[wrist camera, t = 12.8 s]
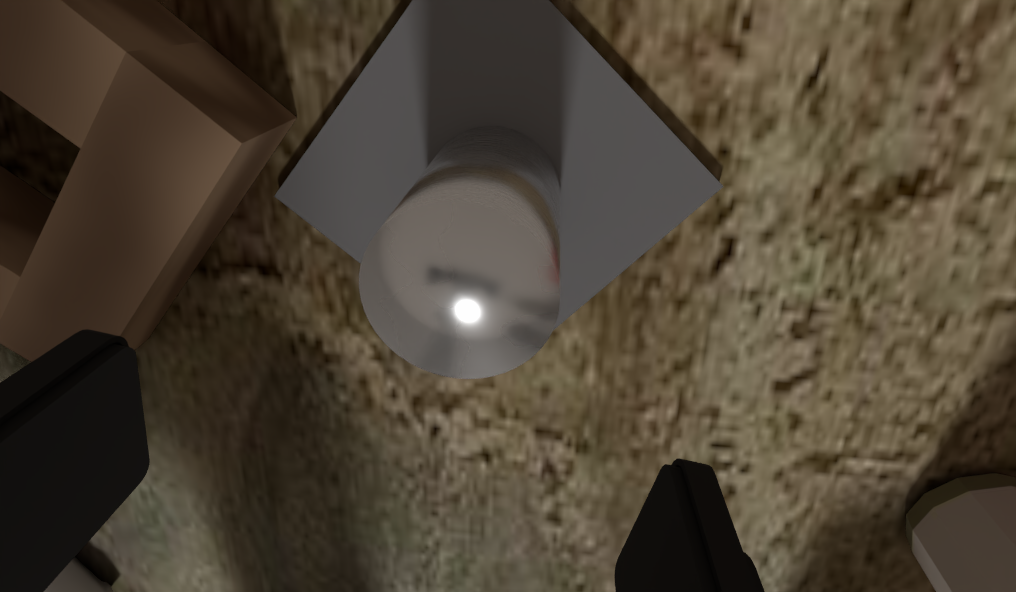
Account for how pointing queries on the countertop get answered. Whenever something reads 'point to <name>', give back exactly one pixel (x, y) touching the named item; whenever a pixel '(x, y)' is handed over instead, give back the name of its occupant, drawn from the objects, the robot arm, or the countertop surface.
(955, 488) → the bottle
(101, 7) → the bore block
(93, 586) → the tube
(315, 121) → the countertop surface
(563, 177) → the mat
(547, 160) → the round peg
